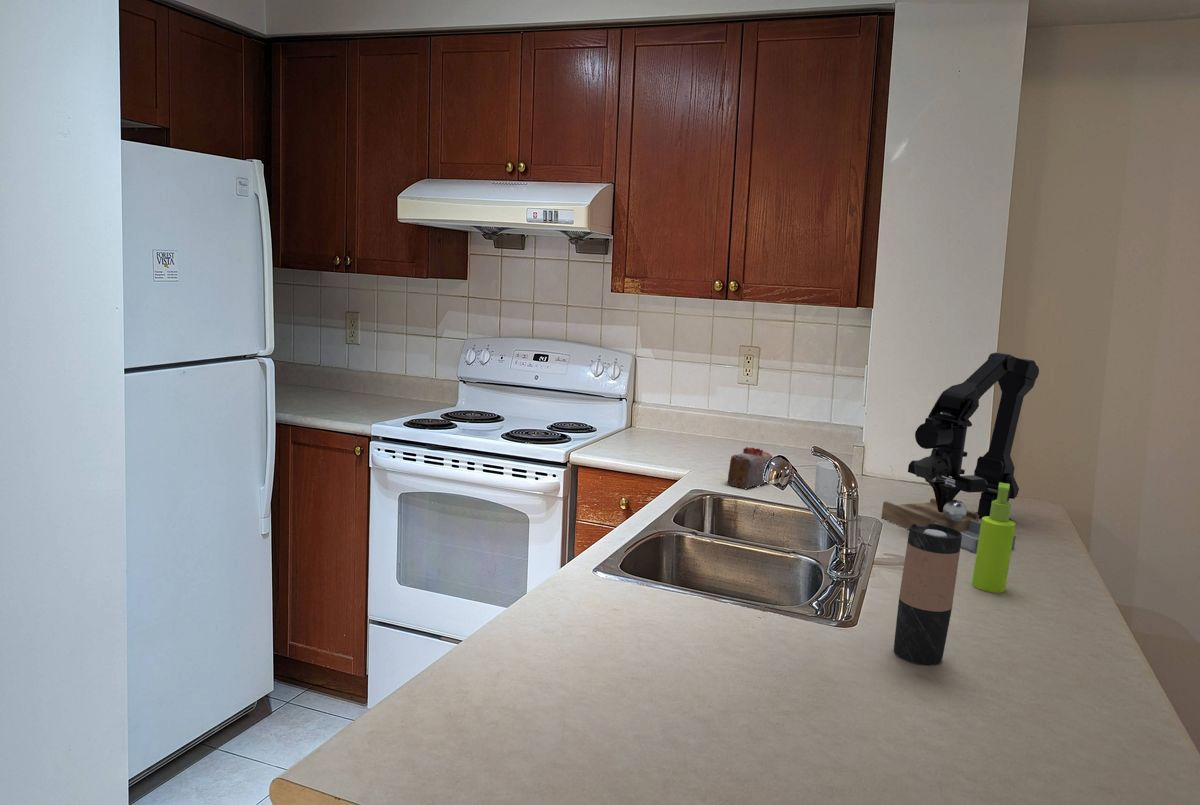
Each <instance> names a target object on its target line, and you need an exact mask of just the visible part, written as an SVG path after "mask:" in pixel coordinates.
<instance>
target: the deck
mask: <svg viewBox="0 0 1200 805" xmlns="http://www.w3.org/2000/svg"><path fill="white" fill-rule="evenodd" d="M929 499H930V500H929V502H920V503H919V502H916V503H905V504H901V503H900V504H894V503H892V502H889V501H883V503H882V510H881V519H883V520H886V521H888V522H891V523H893V524H895V525H897V526H900V527H902V528H905V529H907V530H909V529H910V526H911V524H914V523H915V524H916V525H917V526H927V525H929V524H934V523H939V524H941V525H944V526H947V527H950V528H953V529H956V530H958V531H959V532H961V531H968V530H969V523H970V520H974V521H977V522H979V519H980V517H979V515H978V514H975V513H974V512H973V511H969V510H967V514H966V516H965V518H964V519H963V520H961V521H959V522H952V521H950V520H948V519H947V518H946V517H945V516H944V513H943V512H942V513H941V512H939V511H938V508H937V503H936V498H934V497H933V498H929Z"/></svg>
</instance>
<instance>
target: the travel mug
mask: <svg viewBox="0 0 1200 805" xmlns="http://www.w3.org/2000/svg"><path fill="white" fill-rule="evenodd" d="M961 540H962V534H961V533H960V532H959V531H958V530H956V529H953V528H950V527H947V526H943V525H939V524H929V525H927V526H917V525H916V524H915V523H914V524H911V526H910V529H908V536H907V543H906V550H905V555H904V563H903V571H902V576H901V583H900V587H899V588H900V590H899V595H898V605H897V615H896V620H895V621H896V622H895V623H896V624H895V632H894V644H893V653H894V654H895V656H897V657H898V658H900V659H902V660H903V661H906V662H909V663H912V664H915V665H919V666H920V665H921V666H937V665H939V664H941V663H942V661H943V658H944V652H945V646H946V642H947V636H948V630H949V626H950V621H951V616H952V615H951V614H952V610H953V609H952V608H953V603H954V597H955V588H956V583H957V582H956V580H957V575H958V566H959V561H960V553H961V551H960V550H961Z"/></svg>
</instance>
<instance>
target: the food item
mask: <svg viewBox="0 0 1200 805" xmlns="http://www.w3.org/2000/svg"><path fill="white" fill-rule="evenodd" d="M742 450H743V451H742V453H737V454H734V455H731V457H730V460H729V461H730V463H729V469H728V473H727V474H728V475H727V481H726V482H727V485H728V486H731V485H732V486H731V487H734V486H736V487H735V488H738V487H740V488H739V489H742V488H748V489H750V488H753V487H756V486H759V485H762V486H763V485H764V484H766V483H767V482H764V480H763V473H764V469H765V466H766V464H767V462H768V461H769V460H770V459H771V458H772V459H773V455H772V454H770V453H769V452H768V451H765V450H763V449H761V448H754V447H748V446H747V447H744V448H743V449H742ZM752 486H753V487H752ZM749 487H750V488H749Z"/></svg>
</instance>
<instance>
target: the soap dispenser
mask: <svg viewBox="0 0 1200 805" xmlns="http://www.w3.org/2000/svg"><path fill="white" fill-rule="evenodd" d="M1009 488H1010V484H1007V483H1001V482H999V486H998V497H997V499H996V500H994V501H992V503H991V510H990V516H986V517H982V518H981V522H980V523H981V527H980V534H979V540H978V547H977V553H975V562H974V568H973V574H972V581H971V585H972V586H973V587H974V588H976V589H978V590H980V591H984V592H989V593H995V594H996V593H1004V592H1005V591H1006V587H1007V586H1006V585H1007V579H1008V574H1009V567H1010V562H1011V561H1010V560H1011V555H1012V550H1013V549H1012V544H1013V537H1014V535H1015V530H1016V522H1015V521H1012V519H1011V520H1009V518H1010V516H1011V515H1010V514H1011V509H1012V504H1011V503H1010V502H1008V501H1007V497H1008V492H1009Z"/></svg>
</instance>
